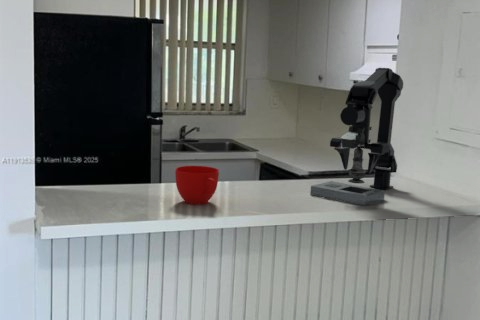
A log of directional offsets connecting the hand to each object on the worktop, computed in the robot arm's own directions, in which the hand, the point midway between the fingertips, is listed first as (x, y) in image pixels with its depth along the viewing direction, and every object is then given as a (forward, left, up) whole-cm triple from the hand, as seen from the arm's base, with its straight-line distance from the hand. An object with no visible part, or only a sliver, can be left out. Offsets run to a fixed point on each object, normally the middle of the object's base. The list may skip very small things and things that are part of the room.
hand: (357, 171), depth 193 cm
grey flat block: (0, -3, -9) cm, 9 cm away
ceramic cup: (+44, -28, -9) cm, 53 cm away
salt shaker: (0, 0, -4) cm, 4 cm away
